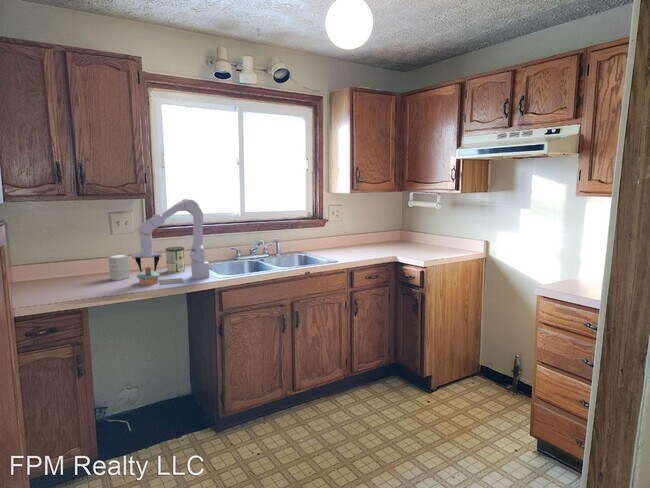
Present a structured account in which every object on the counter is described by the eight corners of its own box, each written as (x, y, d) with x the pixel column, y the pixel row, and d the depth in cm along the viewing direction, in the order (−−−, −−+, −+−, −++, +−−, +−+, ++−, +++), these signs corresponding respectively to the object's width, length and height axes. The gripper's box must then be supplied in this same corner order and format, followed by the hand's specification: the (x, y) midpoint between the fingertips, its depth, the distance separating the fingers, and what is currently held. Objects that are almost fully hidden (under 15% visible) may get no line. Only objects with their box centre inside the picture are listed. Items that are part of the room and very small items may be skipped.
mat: (181, 278, 235) (181, 277, 235) (184, 283, 224) (184, 282, 224) (158, 280, 230) (158, 279, 230) (159, 285, 219) (159, 285, 219)
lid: (158, 273, 230) (158, 264, 229) (160, 277, 220) (159, 268, 219) (136, 274, 226) (136, 266, 225) (137, 279, 216) (136, 270, 215)
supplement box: (121, 276, 239) (120, 254, 237) (130, 278, 235) (128, 255, 233) (109, 279, 233) (107, 256, 231) (117, 280, 229) (116, 257, 227)
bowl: (157, 280, 229) (157, 273, 229) (158, 284, 221) (158, 277, 221) (139, 282, 226) (138, 275, 225) (139, 286, 218) (139, 278, 217)
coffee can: (171, 269, 258) (170, 246, 256) (187, 269, 257) (186, 246, 255) (163, 273, 248) (162, 249, 246) (180, 273, 247) (179, 249, 245)
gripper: (131, 247, 214) (133, 274, 216) (162, 246, 220) (163, 271, 222) (131, 245, 220) (132, 271, 222) (161, 244, 226) (162, 269, 228)
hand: (148, 271), depth 222 cm, fingers open, 6 cm apart
